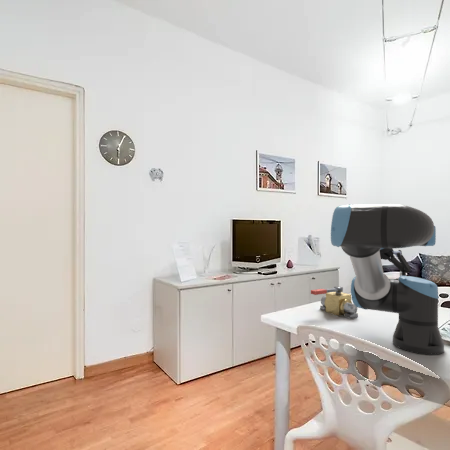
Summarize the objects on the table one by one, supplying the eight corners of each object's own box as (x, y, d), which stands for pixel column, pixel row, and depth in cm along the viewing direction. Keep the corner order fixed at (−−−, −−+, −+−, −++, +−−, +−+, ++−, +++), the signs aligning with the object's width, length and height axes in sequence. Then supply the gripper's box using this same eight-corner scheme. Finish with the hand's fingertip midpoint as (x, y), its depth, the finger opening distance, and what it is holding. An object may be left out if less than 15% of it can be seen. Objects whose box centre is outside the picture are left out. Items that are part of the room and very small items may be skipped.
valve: (347, 318, 144) (347, 296, 144) (317, 309, 160) (318, 288, 160) (360, 316, 148) (360, 294, 148) (329, 307, 164) (330, 287, 164)
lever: (338, 289, 157) (338, 286, 157) (344, 291, 153) (344, 287, 153) (309, 293, 148) (309, 289, 148) (316, 295, 145) (316, 291, 145)
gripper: (418, 238, 129) (418, 279, 139) (353, 232, 145) (358, 269, 155) (414, 249, 125) (415, 291, 134) (348, 241, 140) (353, 279, 150)
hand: (384, 279), depth 145 cm, fingers open, 13 cm apart
